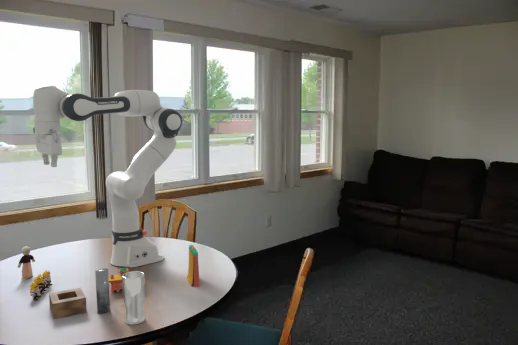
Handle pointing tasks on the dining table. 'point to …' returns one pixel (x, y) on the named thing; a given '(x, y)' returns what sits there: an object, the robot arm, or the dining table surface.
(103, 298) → the metal peg
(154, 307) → the dining table surface
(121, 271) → the toy building block set
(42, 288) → the figurine set
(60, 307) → the wooden block with hole
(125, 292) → the beer glass
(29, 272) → the grandmother figurine
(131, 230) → the robot arm
